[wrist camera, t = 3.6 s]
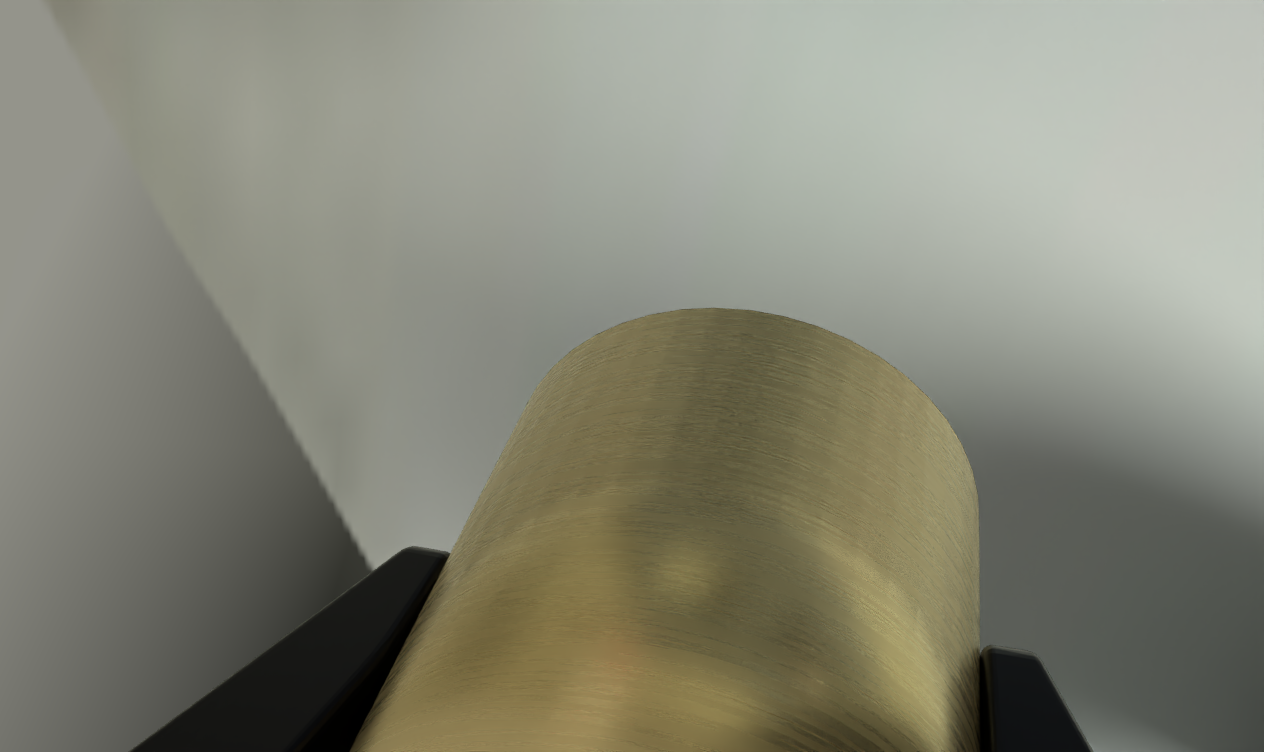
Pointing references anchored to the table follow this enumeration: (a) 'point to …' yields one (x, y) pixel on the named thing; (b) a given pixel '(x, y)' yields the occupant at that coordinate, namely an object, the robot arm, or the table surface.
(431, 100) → the table surface
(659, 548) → the cylinder
